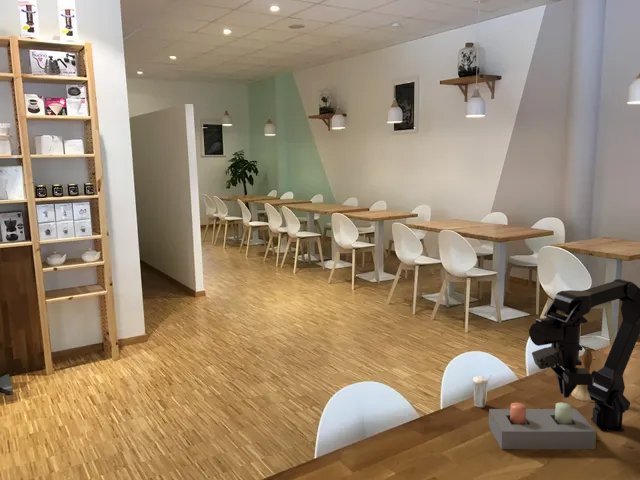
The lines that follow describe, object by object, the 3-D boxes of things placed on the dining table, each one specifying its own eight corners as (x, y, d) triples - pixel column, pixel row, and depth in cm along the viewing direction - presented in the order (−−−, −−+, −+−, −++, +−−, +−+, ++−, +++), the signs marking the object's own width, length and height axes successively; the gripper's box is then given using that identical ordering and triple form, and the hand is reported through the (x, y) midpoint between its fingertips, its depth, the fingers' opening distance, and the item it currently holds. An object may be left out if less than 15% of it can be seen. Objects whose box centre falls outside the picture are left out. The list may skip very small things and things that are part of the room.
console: (574, 425, 148) (575, 408, 147) (595, 449, 136) (596, 431, 136) (488, 425, 149) (489, 409, 149) (501, 449, 138) (502, 431, 137)
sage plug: (567, 419, 144) (568, 402, 143) (573, 427, 140) (574, 409, 139) (552, 419, 144) (553, 402, 143) (558, 427, 140) (559, 409, 139)
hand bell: (592, 405, 160) (596, 355, 157) (565, 395, 166) (568, 347, 164) (605, 396, 165) (608, 348, 162) (578, 387, 171) (581, 341, 169)
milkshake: (491, 409, 158) (492, 378, 157) (472, 408, 159) (473, 377, 158) (489, 402, 163) (490, 372, 161) (471, 401, 164) (472, 370, 162)
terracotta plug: (522, 419, 144) (523, 402, 144) (527, 427, 140) (528, 409, 140) (507, 419, 145) (508, 402, 144) (512, 427, 141) (513, 409, 140)
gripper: (524, 328, 148) (521, 380, 150) (550, 353, 129) (547, 412, 132) (564, 327, 147) (561, 380, 150) (596, 353, 129) (592, 412, 131)
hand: (564, 395), depth 141 cm, fingers closed
